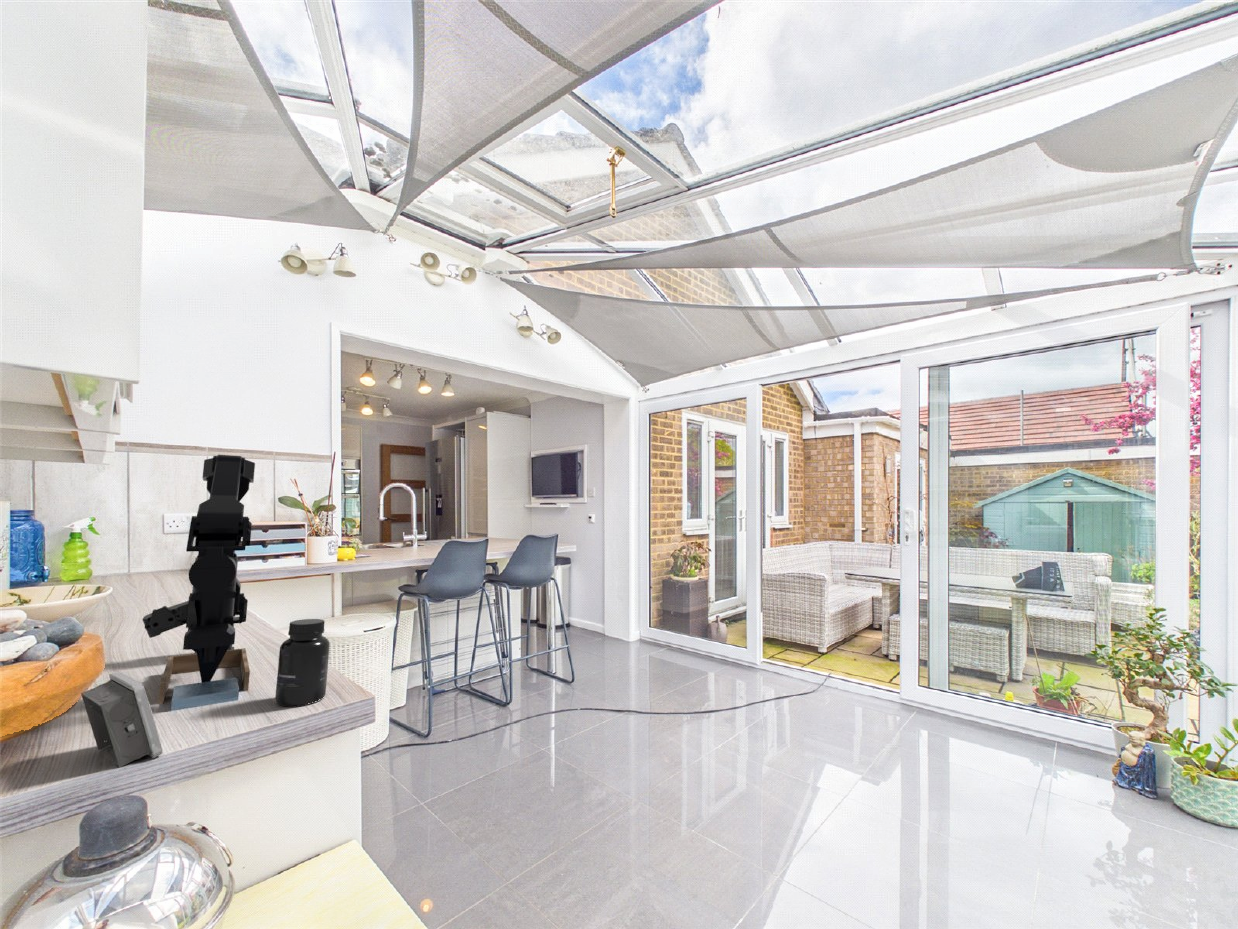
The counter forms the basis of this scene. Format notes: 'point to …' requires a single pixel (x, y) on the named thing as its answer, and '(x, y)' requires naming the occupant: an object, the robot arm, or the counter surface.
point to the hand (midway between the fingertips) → (205, 682)
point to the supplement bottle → (303, 664)
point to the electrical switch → (122, 720)
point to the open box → (191, 664)
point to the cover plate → (205, 693)
